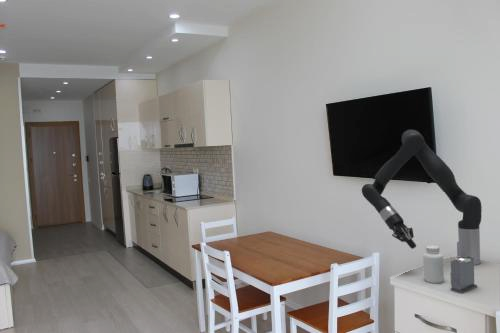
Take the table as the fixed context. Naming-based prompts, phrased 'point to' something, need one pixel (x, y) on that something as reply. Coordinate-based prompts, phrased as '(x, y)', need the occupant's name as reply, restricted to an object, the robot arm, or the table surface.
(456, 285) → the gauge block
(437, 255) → the pill bottle
